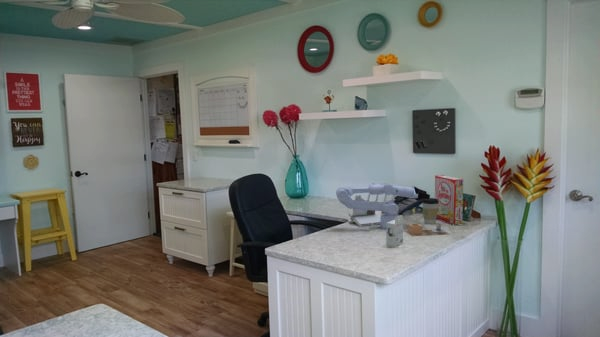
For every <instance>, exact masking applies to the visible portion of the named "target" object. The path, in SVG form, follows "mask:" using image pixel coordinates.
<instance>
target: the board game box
mask: <svg viewBox="0 0 600 337" xmlns="http://www.w3.org/2000/svg"><path fill="white" fill-rule="evenodd" d="M434 198H435V199H438V201H439V203H438V212H437V219H436V220H438V219H439V221H441V220H442V221H441V222H444V221H445V222H444V223H446V222H448V223H447V224H449V223H451V224H450V225H452V224H454V225H453V226H456V225H455V224H462V225H463V212H464V211H463V209H464V208H463V206H464V205H463V204H464V202H463V201H464V178H459V177H453V176H450V175H449V176H448V175H445V174H440V175H439V174H438V175H437V174H436V175H434Z"/></svg>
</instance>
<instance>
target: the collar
mask: <svg viewBox="0 0 600 337" xmlns="http://www.w3.org/2000/svg"><path fill="white" fill-rule="evenodd" d="M422 230H423V225H422V224H419V223H408V224H407V231H408V232H409V233H410V234H412V235H415V234H422Z"/></svg>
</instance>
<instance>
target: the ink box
mask: <svg viewBox="0 0 600 337" xmlns="http://www.w3.org/2000/svg"><path fill="white" fill-rule="evenodd" d="M398 218H399V219H400V220H398ZM385 228H386V229H385V231H386V234H385V236H386V244H385V246H386V247H389V248H397V247H399V246H401V245H402V244H401V243H403V242H404V216H403V214H400V215H398V217H395V220H392V221H390V222H387V223H386V227H385Z"/></svg>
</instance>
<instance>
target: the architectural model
mask: <svg viewBox="0 0 600 337" xmlns="http://www.w3.org/2000/svg"><path fill="white" fill-rule="evenodd" d="M367 194H368V195H367V198H366V199H367V200H366V199H365V198H362V195H361V194H356V195H355V198H354V200H357V201H369V202H378V200H379V195H380V194H378V195H376V198H375V200H370V197H371V195H370V194H369V193H367ZM387 196H388V195H386V194H385V193H384V198H383V202H388V201H393V202H394V203H395V201H396V197H395V196H396V195H393V196H392V198H390V199H387ZM382 214H385V212H382V211H373V210H360V209H352V212H348V216H349V217H350V219H349V220H350V224H353V222H354V223H355V224H356V225H357V226H358V227H359V228H363V227H370V226H379V225H380V218H381V215H382ZM398 220H400V218H398Z"/></svg>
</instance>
